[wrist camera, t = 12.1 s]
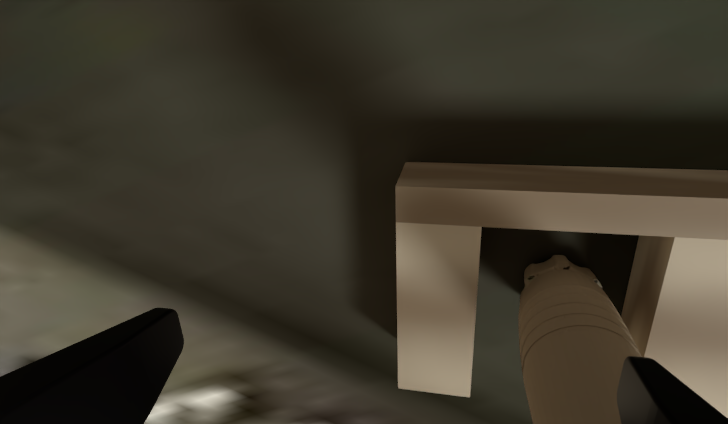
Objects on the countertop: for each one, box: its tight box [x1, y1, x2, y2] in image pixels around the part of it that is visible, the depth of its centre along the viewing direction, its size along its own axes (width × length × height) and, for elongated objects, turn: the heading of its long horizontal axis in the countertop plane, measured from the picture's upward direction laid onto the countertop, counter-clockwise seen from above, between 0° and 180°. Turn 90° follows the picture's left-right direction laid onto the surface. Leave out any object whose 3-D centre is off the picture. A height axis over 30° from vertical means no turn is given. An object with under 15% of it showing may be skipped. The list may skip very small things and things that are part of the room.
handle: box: [519, 255, 642, 424], centre depth 14 cm, size 5×6×15 cm
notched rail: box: [395, 162, 728, 418], centre depth 18 cm, size 10×24×3 cm, turn 93°
